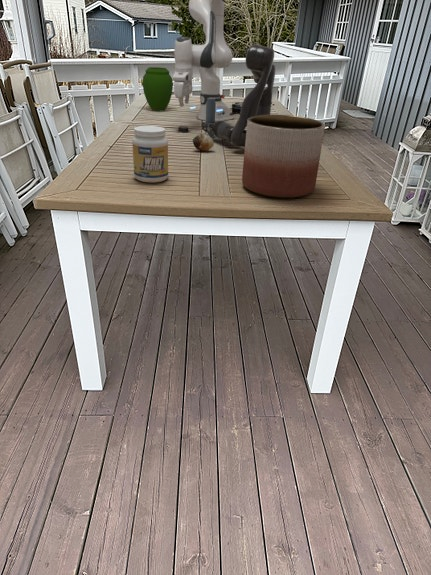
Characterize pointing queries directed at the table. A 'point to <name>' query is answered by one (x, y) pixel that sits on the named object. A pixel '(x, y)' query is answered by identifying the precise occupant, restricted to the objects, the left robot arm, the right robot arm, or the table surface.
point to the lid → (183, 129)
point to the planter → (282, 155)
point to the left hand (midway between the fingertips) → (184, 105)
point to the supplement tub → (150, 154)
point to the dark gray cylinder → (210, 113)
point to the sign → (236, 107)
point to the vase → (157, 88)
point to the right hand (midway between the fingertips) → (207, 123)
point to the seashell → (203, 142)
